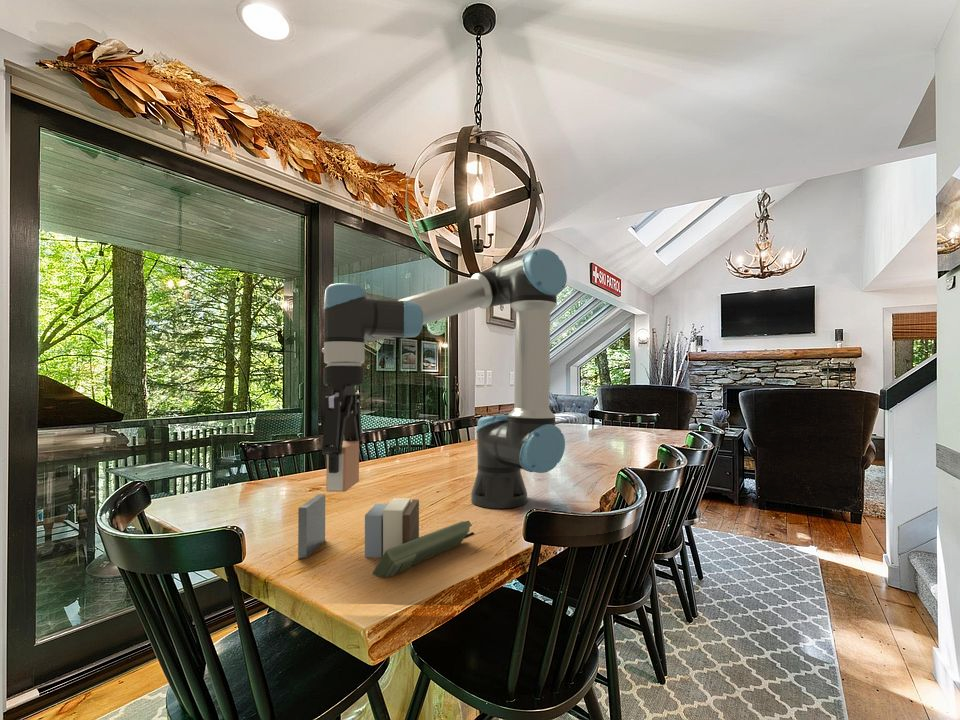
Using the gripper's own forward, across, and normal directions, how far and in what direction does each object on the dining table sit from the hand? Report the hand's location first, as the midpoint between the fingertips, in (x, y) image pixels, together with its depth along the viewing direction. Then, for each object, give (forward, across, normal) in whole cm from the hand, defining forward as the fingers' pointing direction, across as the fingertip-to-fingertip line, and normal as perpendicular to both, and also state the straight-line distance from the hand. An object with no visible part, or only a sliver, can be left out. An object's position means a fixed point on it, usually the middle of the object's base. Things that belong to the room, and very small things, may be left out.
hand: (343, 484), depth 85 cm
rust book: (0, 0, 0) cm, 0 cm away
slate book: (+12, 0, +7) cm, 14 cm away
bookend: (+12, 0, -6) cm, 13 cm away
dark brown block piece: (+13, 0, +3) cm, 14 cm away
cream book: (+12, 0, +10) cm, 16 cm away
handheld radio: (+14, +1, +16) cm, 21 cm away
